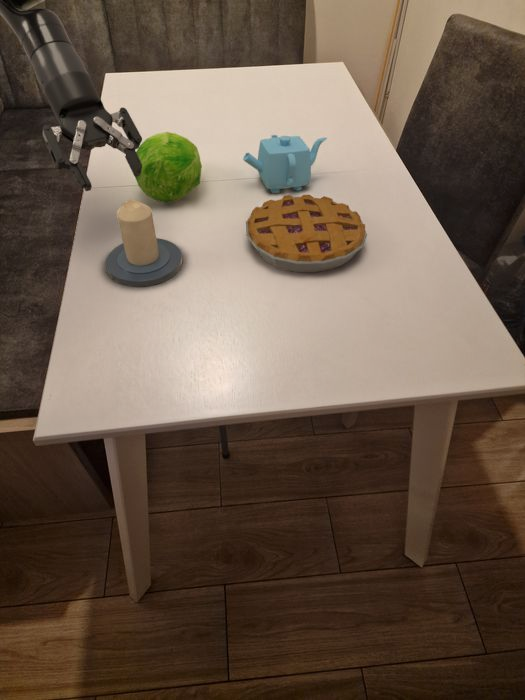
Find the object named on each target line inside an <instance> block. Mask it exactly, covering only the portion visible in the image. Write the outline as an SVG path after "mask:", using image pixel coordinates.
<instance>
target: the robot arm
mask: <svg viewBox="0 0 525 700" xmlns="http://www.w3.org/2000/svg"><path fill="white" fill-rule="evenodd" d="M43 2H45V0H0V16H1V17H2V19H4V21H5V22H6V23H7V25H8V26H9V28H11V30H12V31H13V32H14V34H15V36H16V37H17V39H18V40H19V42H20V45H21V46H22V48H23V51H24V52H25V54H26V56H27V58H28V61H29V62H30V64H31V66H32V69H33V72H34V75H35V77H36V80H37V82H38V84H39V87H40V90H41V91H42V93H43V94H44V97H45V98H46V100H47V102H48V104H49V106H50V108H51V110H52V112H53V114H54V116H55V118H56V120H57V122H58V124H59V125H56V126H51V125H49V124H44V125H43V126H42V139H43V140H44V143H45V145H46V148H47V150H48V153H49V155H50V156H51V159H52V162H53V164H54V167H55V168H56V169H57V170H63V169H68V170H70V171H71V173H72V175H73V177H74V179H75V181H76V183H77V185H78V187H79V188H80V189H84V190H85V192H89V191H91V190H92V187H93V186H92V185H93V184H92V182H91V180H90V178H89V176H88V175H87V172H86V170H85V168H84V166H83V164H82V162H81V163H79V159H80V154H81V150H85V151H87V152H88V151H92V150H93V149H95V148H103V147H106V145H108V146H109V147H110V148H112V149H115V150H118V151H120V152H121V153H123V154H124V155H125V156H124V158H125V160H126V162H127V164H128V166H129V168H130V170H131V172H132V174H133V176H134V177H137V176H140V174H141V170H142V164H141V162H140V159H139V157H138V155H137V153H136V152H137V150H138V148H139V147H140V145H141V144H142V143H143V137H142V135H141V133H140V132H139V130H138V128H137V126H136V124H135V121H133V118H132V117H131V115H130V113H129V111H128V110H127V108H126V107H120V108H119V110H118V111H116V112H113V113H110V112H109V111H108V110H107V109H106V108H105V106H104V103H103V101H102V99H101V97H100V94H99V92H98V90H97V89H96V85H94V83H93V80H92V78H91V76H90V74H89V72H88V70H87V68H86V66H85V64H84V62H83V60H82V59H81V57H80V56H79V54H78V52H77V50H76V49H75V47H74V45H73V43H72V40H71V39H70V37H69V35H68V33H67V30H66V29H65V26H64V24H63V22H62V20H61V19H60V17H59V16H58V15H57V13H55V12H54V11H52V10H50V9H47V8H34V9H31V8H33V7H35V6H36V5H38V4H40V3H43ZM113 123H115V124H116V125H117V127H118V128H122V130H123V132H124V134H125V136H124V135H123V134H122V132H121V131H119V130H118V129H116V128H115V127H113ZM61 136H62V137H63V138H65V139H66V140H68V141H69V142H71V143H72V146H71V147H72V148H71V151H70V156H65V155H64V154H63V151H62V149H61V146H60V144H59V142H60V137H61Z"/></svg>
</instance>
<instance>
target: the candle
mask: <svg viewBox="0 0 525 700" xmlns="http://www.w3.org/2000/svg"><path fill="white" fill-rule="evenodd" d="M153 216H154V215H153V211H152V208H151V207H150V206H148V205H147V204H145V203H143V202H141V201H138V200H135V199H129V200H127V201H125V202H124V203H122V205H121V207H120V208H119V209H118V210H117V212H116V218H117V220H118V221H117V222H118V226H119V230H120V235H121V239H122V244H124V248H125V253H126V257H127V260H128V261H129V262H130V263H131V264H133V265H137V266H144V265H149V264H151V263H153V262H155V261H156V260H157V259H158V257H159V251H158V245H157V239H156V238H157V233H156V228H155V222H154V217H153Z"/></svg>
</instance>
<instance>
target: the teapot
mask: <svg viewBox="0 0 525 700" xmlns="http://www.w3.org/2000/svg"><path fill="white" fill-rule="evenodd" d="M326 140H328V137H320V138H317V139H316V140H315V141H314V142H313V144H312V147H311V150H310V148H309V146H308V145H307V144H306V142H305V141H304V140H303V138H301V136H299V135H292V136H288V135H282V136H279V137H278V135H277V134H272V135H271V136H270V138H264V139H260V141H259V147H258V155H257V157H255V156H254V155H252V154H251V153H250V152H245V154H244V155H243V158H242V160H243V161H244V162H245V163H246V164H248V165H249V166H251V167H252V168H254V169H255V170H256V171H257V172H258V175H259V177H260V180H261V181H262V183H263V185H264V186H265V188H266V189H267V190H270V193H273V194H278V193H280V192H281V189H288V188H292V190H294V191H301V190H303V188H302V186H308V185H309V184H310V181H311V176H312V166H313V165H314V163H315V162H316V159H317V156H318V152H319V149H320V147H321V145H322V144H323V143H324V142H325V141H326Z"/></svg>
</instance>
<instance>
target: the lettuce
mask: <svg viewBox="0 0 525 700" xmlns="http://www.w3.org/2000/svg"><path fill="white" fill-rule="evenodd" d="M136 153H137V155H138V157H139V159H140V162H141V164H142V170H141V174H140V176H137V177H135V176H134V177H135V180H136V183H137V186H138V187H139V188H140V189H141V191H142V192H143V193H144V194H145V195H146V196H147V197H150V198H151V199H153V200H155V201H156V202H160V203H161V202H162V203H167V204H168V203H172V202H178V201H179V200H181V199H183V198H184V197H185V196H187V195H188V194H189V193H190V192H191V191H192V190H194V189H195V188H196V187H197V186H199V185H200V183H201V176H202V175H201V174H202V168H203V165H202V161H201V156H200V153H199V150H198V147H197V146H196V144H194V142H192V141H191V140H189V139H188V138H187V137H184V136H182V135H180V134H177V133H175V132H169V131H165V132H161V133H156V134H154V135H152V136H149V137H147V138H145V140H144V141H142V142H141V143H140V146H139V148H138V149H136Z"/></svg>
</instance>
